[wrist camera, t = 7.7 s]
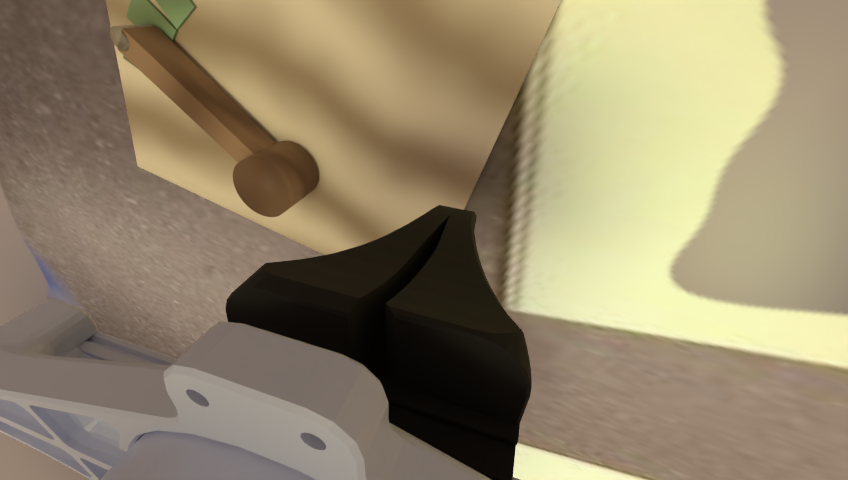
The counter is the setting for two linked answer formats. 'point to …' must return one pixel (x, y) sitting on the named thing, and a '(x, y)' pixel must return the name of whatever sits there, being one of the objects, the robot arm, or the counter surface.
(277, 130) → the dial board
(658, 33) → the counter surface
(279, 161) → the tuning peg
